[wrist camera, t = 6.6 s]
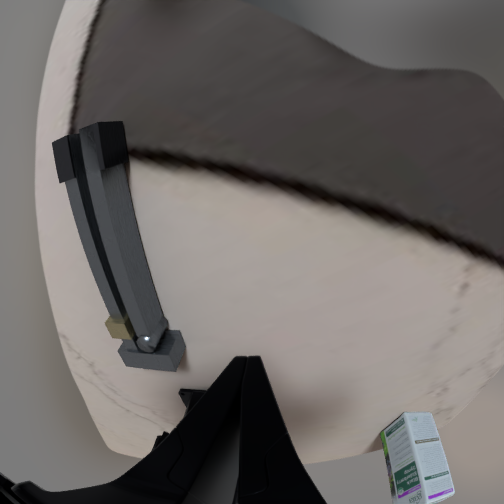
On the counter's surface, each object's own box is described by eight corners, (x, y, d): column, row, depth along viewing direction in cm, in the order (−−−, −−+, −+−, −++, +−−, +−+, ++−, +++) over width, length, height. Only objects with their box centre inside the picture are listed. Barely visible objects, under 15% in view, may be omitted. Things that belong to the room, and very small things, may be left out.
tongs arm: (171, 328, 23) (159, 353, 20) (153, 327, 23) (140, 351, 20) (122, 121, 16) (95, 122, 13) (102, 127, 16) (75, 130, 13)
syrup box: (403, 411, 27) (425, 505, 14) (432, 411, 27) (456, 494, 14) (379, 432, 29) (392, 519, 16) (408, 431, 29) (424, 510, 16)
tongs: (185, 346, 24) (174, 374, 21) (138, 344, 25) (124, 369, 22) (126, 119, 16) (96, 121, 13) (74, 139, 17) (43, 146, 13)
